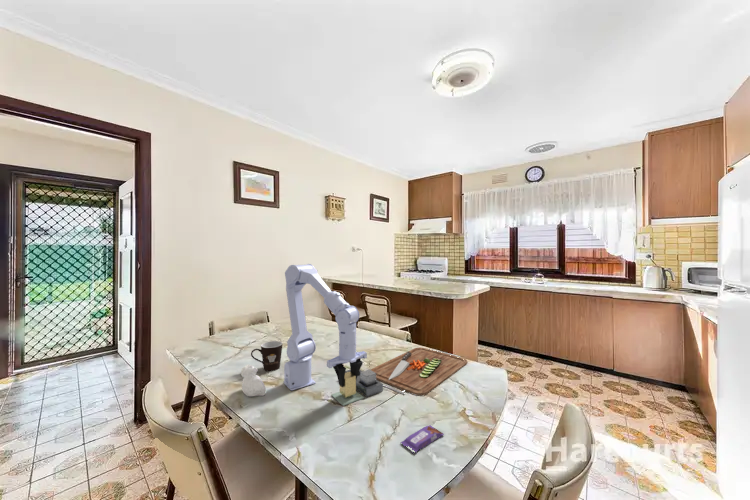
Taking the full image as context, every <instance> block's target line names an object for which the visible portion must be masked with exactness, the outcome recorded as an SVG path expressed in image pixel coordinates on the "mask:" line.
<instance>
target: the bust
mask: <svg viewBox="0 0 750 500" xmlns="http://www.w3.org/2000/svg"><path fill="white" fill-rule="evenodd" d="M258 371H259V370H258V368H257V367H255V366H254V365H252V364H246V365H245V366H244V367H242V368H241V371H240V374H241V377H242V385H241V390H242V392H243V393H244V394H245V396H247V397H251V398H252V397H257V396H261V397H263V396H265V395H266V391H267V389H266V385H265V383H264V381H263V380H262V379H261V377H260V376H259V375H257V372H258Z"/></svg>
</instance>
